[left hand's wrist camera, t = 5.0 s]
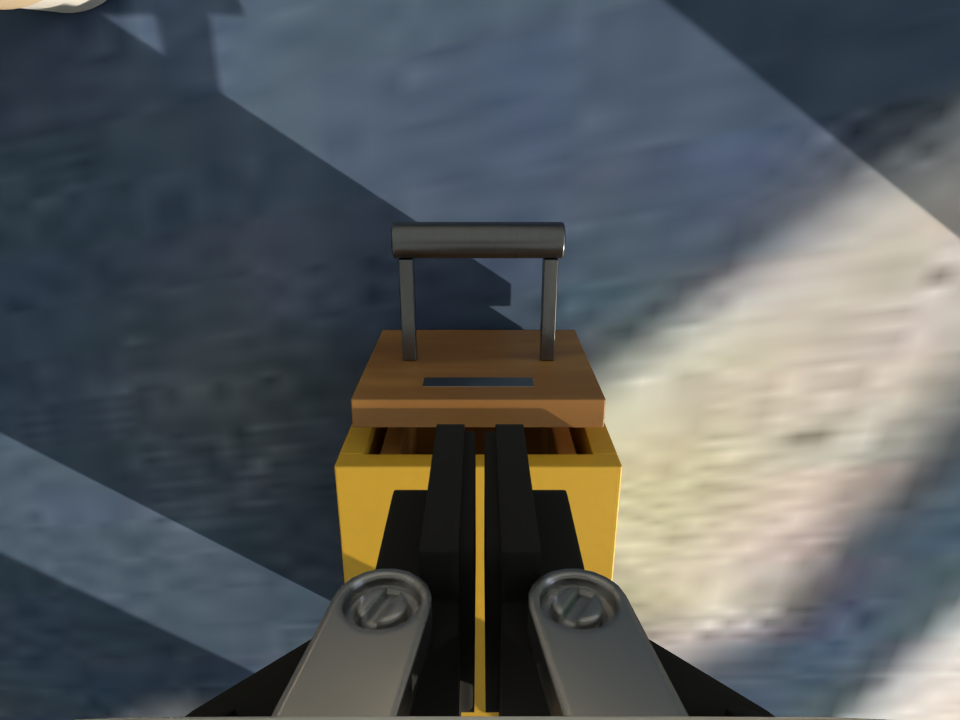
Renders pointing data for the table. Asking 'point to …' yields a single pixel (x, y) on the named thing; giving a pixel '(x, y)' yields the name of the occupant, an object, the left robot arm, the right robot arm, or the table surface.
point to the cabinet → (376, 476)
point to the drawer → (478, 354)
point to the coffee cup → (52, 5)
